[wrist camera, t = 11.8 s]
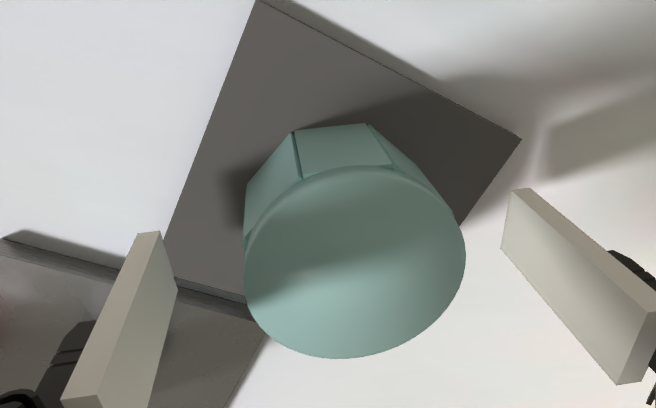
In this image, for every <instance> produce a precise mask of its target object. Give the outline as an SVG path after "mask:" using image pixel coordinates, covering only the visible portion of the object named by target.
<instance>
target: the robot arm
mask: <svg viewBox="0 0 656 408" xmlns="http://www.w3.org/2000/svg"><path fill="white" fill-rule="evenodd" d="M500 249H501V250H502V251H503V252H504V254H505V255H506V256H507V257H508V258H509V259H510V261H511V262H512V263H513V264H514V265H515V267H516V268H517V269H518V270H519V271H520V272H521V274H522V275H523V276H524V277H525V278H526V280H527V281H528V282H529V283H530V284H531V285H532V287H533V288H534V289H535V290H536V291H537V293H538V294H539V295H540V296H541V297H542V298H543V300H544V301H545V302H546V303H547V304H548V305H549V307H550V308H551V309H552V310H553V311H554V313H555V314H556V315H557V316H558V317H559V318H560V320H561V321H562V322H563V323H564V324H565V326H566V327H567V328H568V329H569V330H570V331H571V333H572V334H573V335H574V336H575V337H576V339H577V340H578V341H579V342H580V343H581V344H582V346H583V347H584V348H585V349H586V350H587V352H588V353H589V354H590V355H591V356H592V357H593V359H594V360H595V361H596V362H597V363H598V365H599V366H600V367H601V368H602V369H603V370H604V372H605V373H606V374H607V375H608V376H609V378H610V379H611V380H612V381H613V382H614V383H615V385H622V384H628V383H634V382H640V381H642V379H643V377H644V375H645V373H646V371H647V369H648V366H649V367H650V368H651V369H652V370H653V371H654V372H655V373H656V279H655V277H653V276H652V275H651V274H649V273H648V272H645V271H644V269H643V268H642V267H641V266H639V265H638V264H637V263H636V262H634V261H633V260H632V259H630V258H628V257H626V256H624V255H622V254H620V253H618V252H616V251H614V250H611V251H606V250H605V249H604V248H602V247H601V246H600V245H599V244H597V243H596V242H595V241H594V240H593V239H591V238H590V237H589V236H588V235H587V234H585V233H584V232H583V231H582V230H580V229H579V228H578V227H577V226H576V225H574V224H573V223H572V222H571V221H570V220H568V219H567V218H566V217H565V216H563V215H562V214H561V213H560V212H559V211H557V210H556V209H555V208H554V207H553V206H551V205H550V204H549V203H548V202H546V201H545V200H544V199H543V198H542V197H540V196H539V195H538V194H537V193H536V192H534V191H533V190H532V189H531V188H524V189H516V190H511V193H510V198H509V204H508V209H507V215H506V220H505V226H504V231H503V237H502V242H501V248H500ZM177 292H178V289H177V286H176V282H175V279H174V276H173V272H172V269H171V266H170V262H169V259H168V256H167V253H166V249H165V246H164V243H163V239H162V236H161V233H160V231H154V232H146V233H138V234H137V236H136V238H135V240H134V243H133V245H132V247H131V249H130V251H129V253H128V255H127V258H126V260H125V262H124V264H123V266H122V268H121V270H120V272H119V275H118V277H117V279H116V281H115V283H114V285H113V287H112V290H111V292H110V294H109V296H108V298H107V300H106V302H105V305H104V307H103V309H102V311H101V313H100V315H99V317H98V319H97V320H92V321H85V322H79V323H78V324H77V325H76V326H75V327H74V328H73V329H72V330H71V331H70V332H69V333H68V334H67V335H66V336H65V337H64V338H63V340H62V342H61V344H60V346H59V348H58V350H57V352H56V355H54V357H53V359H52V361H51V363H50V367H49V368H47V370H46V372H45V374H44V376H43V378H42V380H41V381H40V383H39V385H38V387H37V389H36V391H35V392H34V391H33V390H31V389H17V390H13V391H8V392H6V393H4V394H2V395H0V408H147V407H148V403H149V399H150V395H151V391H152V387H153V384H154V380H155V376H156V372H157V368H158V364H159V361H160V357H161V353H162V349H163V345H164V341H165V338H166V334H167V330H168V326H169V322H170V318H171V315H172V311H173V307H174V303H175V299H176V296H177ZM653 400H655V406H656V383H655V385H654V387H653V389H652V391H651V393H650V395H649V397H648V399H647V402H646V404H648V405H651V404H652V402H653Z"/></svg>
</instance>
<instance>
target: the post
mask: <svg viewBox="0 0 656 408" xmlns="http://www.w3.org/2000/svg"><path fill="white" fill-rule="evenodd" d="M119 272H120V271H119V270H116V269H112V268H108V267H105V266H101V265H97V264H94V263H90V262H86V261H83V260H79V259H75V258H71V257H68V256H64V255H60V254H57V253H53V252H49V251H46V250H42V249H38V248H35V247H31V246H27V245H24V244H20V243H16V242H13V241H9V240H5V239H2V238H1V239H0V395H2V394H4V393H6V392H8V391H13V390H17V389H31V390H33V391H34V392H35V391H36V389H37V387H38V385H39V383H40V381H41V380H42V378H43V376H44V374H45V372H46V370H47V368H49V367H50V363H51V361H52V359H53V357H54V355H56V352H57V350H58V348H59V346H60V344H61V342H62V340H63V338H64V337H65V336H66V335H67V334H68V333H69V332H70V331H71V330H72V329H73V328H74V327H75V326H76V325H77V324H78V323H79V322H85V321H92V320H97V319H98V317H99V315H100V313H101V311H102V309H103V307H104V305H105V302H106V300H107V298H108V296H109V294H110V292H111V290H112V287H113V285H114V283H115V281H116V279H117V277H118V275H119ZM177 289H178V292H177V296H176V299H175V303H174V307H173V311H172V315H171V318H170V322H169V326H168V330H167V334H166V338H165V341H164V345H163V349H162V353H161V357H160V361H159V364H158V368H157V372H156V376H155V380H154V384H153V387H152V391H151V395H150V399H149V403H148V407H147V408H223V407H224V405H225V404H226V402H227V400H228V398H229V397H230V395H231V393H232V391H233V389H234V388H235V386H236V384H237V382H238V381H239V379H240V377H241V375H242V374H243V372H244V370H245V368H246V367H247V365H248V363H249V361H250V359H251V358H252V356H253V354H254V352H255V351H256V349H257V347H258V345H259V344H260V342H261V340H262V338H263V337H264V335H265V333H266V332H265V331H264V330H263V329H262V328H261V327H260V326H259V325H258V323H257V322H256V320H255V319H254V318H253V316H252V314H251V312H250V310H249V308H248V305H244V304H241V303H237V302H233V301H230V300H226V299H222V298H219V297H215V296H211V295H208V294H204V293H200V292H197V291H193V290H189V289H186V288H182V287H178V286H177Z"/></svg>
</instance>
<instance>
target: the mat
mask: <svg viewBox="0 0 656 408" xmlns="http://www.w3.org/2000/svg"><path fill="white" fill-rule="evenodd" d="M358 123H366V125H367V126H368V125H369V124H370V125H371V126H372V127H373V128H374V129H376V130H377V131H378V132H379V133H380V134H381V135H382V136H384V137H385V138H386V139H387V140H388V141H389V142H391V143H392V144H393V145H394V146H395V147H396V148H398V149H399V150H400V151H401V152H402V153H403V154H405V155H406V156H407V157H408V158H409V159H410V160H412V161H413V162H414V163H415V164H416V165H417V166H418V168H419V169H420V170H421V171H422V173H423V174H424V175H425V177H426V178H427V179H428V180H429V182H430V183H431V184H432V186H433V187H434V188H435V189H436V191H437V192H438V193H439V194H440V196H441V197H442V198H443V200H444V201H445V202H446V203H447V205H448V206H449V207H450V209H451V210H452V211H453V212H452V213H453V214H454V219H455V220H456V222H457V224H458V226H460V225H461V223H462V222H463V220H464V219H465V218H466V216H467V215H468V214H469V212H470V211H471V209H472V208H473V207H474V205H475V204H476V202H477V201H478V200H479V198H480V197H481V195H482V194H483V193H484V191H485V190H486V189H487V187H488V186H489V184H490V183H491V182H492V180H493V179H494V177H495V176H496V175H497V173H498V172H499V170H500V169H501V168H502V166H503V165H504V164H505V162H506V161H507V159H508V158H509V157H510V155H511V154H512V152H513V151H514V150H515V148H516V147H517V146H518V144H519V143H520V141H521V140H522V139H521V138H519V137H518V136H516V135H515V134H513V133H511V132H509V131H507V130H505V129H503V128H502V127H500V126H498V125H496V124H494V123H492V122H490V121H488V120H486V119H484V118H483V117H481V116H479V115H477V114H475V113H473V112H471V111H469V110H467V109H465V108H464V107H462V106H460V105H458V104H456V103H454V102H452V101H450V100H448V99H446V98H445V97H443V96H441V95H439V94H437V93H435V92H433V91H431V90H429V89H427V88H426V87H424V86H422V85H420V84H418V83H416V82H414V81H412V80H410V79H408V78H407V77H405V76H403V75H401V74H399V73H397V72H395V71H393V70H391V69H389V68H388V67H386V66H384V65H382V64H380V63H378V62H376V61H374V60H372V59H371V58H369V57H367V56H365V55H363V54H361V53H359V52H357V51H355V50H353V49H352V48H350V47H348V46H346V45H344V44H342V43H340V42H338V41H336V40H334V39H333V38H331V37H329V36H327V35H325V34H323V33H321V32H319V31H317V30H315V29H314V28H312V27H310V26H308V25H306V24H304V23H302V22H300V21H298V20H296V19H295V18H293V17H291V16H289V15H287V14H285V13H283V12H281V11H279V10H277V9H276V8H274V7H272V6H270V5H268V4H266V3H264V2H262V1H260V0H256V1H255V3H254V6H253V8H252V11H251V14H250V16H249V19H248V21H247V24H246V27H245V29H244V32H243V34H242V37H241V40H240V42H239V45H238V47H237V50H236V53H235V55H234V58H233V60H232V63H231V66H230V68H229V71H228V73H227V76H226V79H225V81H224V84H223V86H222V89H221V92H220V94H219V97H218V99H217V102H216V105H215V107H214V110H213V112H212V115H211V118H210V120H209V123H208V125H207V128H206V131H205V133H204V136H203V138H202V141H201V144H200V146H199V149H198V151H197V154H196V157H195V159H194V162H193V164H192V167H191V170H190V172H189V175H188V177H187V180H186V183H185V185H184V188H183V190H182V193H181V196H180V198H179V201H178V203H177V206H176V209H175V211H174V214H173V216H172V219H171V222H170V224H169V227H168V229H167V232H166V235H165V237H164V240H163V243H164V246H165V249H166V253H167V256H168V259H169V262H170V266H171V269H172V272H173V276H174V277H178V278H181V279H185V280H188V281H192V282H196V283H199V284H203V285H206V286H210V287H214V288H217V289H221V290H224V291H228V292H231V293H235V294H239V295H242V296H245V294H244V286H243V281H244V262H245V255H244V250H243V245H242V237H243V223H244V210H245V196H246V187H247V183H248V182H249V181H250V180H251V179H252V177H253V176H254V175H255V174H256V173H257V171H258V170H259V169H260V168H261V167H262V165H263V164H264V163H265V162H266V161H267V160H268V158H269V157H270V156H271V155H272V154H273V152H274V151H275V150H276V149H277V148H278V146H279V145H280V144H281V143H282V142H283V141H284V139H285V138H286V137H287V136H288V135H289V133H290V132H291V133H292V134H293V135H294V136H295V133H294V130H302V129H312V128H321V127H330V126H340V125H349V124H358Z"/></svg>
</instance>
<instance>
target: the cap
mask: <svg viewBox="0 0 656 408" xmlns="http://www.w3.org/2000/svg"><path fill="white" fill-rule="evenodd" d="M294 133H295V136H294V135H293V134H292V133H291V132H290V133H289V135H288V136H287V137H286V138H285V139H284V141H283V142H282V143H281V144H280V145H279V146H278V148H277V149H276V150H275V151H274V152H273V154H272V155H271V156H270V157H269V158H268V160H267V161H266V162H265V163H264V164H263V165H262V167H261V168H260V169H259V170H258V171H257V173H256V174H255V175H254V176H253V177H252V179H251V180H250V181H249V182H248V183H247V187H246V196H245V210H244V223H243V237H242V245H243V250H244V255H245V262H244V281H243V286H244V294H245V298H246V302H247V305H248V308H249V310H250V312H251V314H252V316H253V318H254V319H255V320H256V322H257V323H258V325H259V326H260V327H261V328H262V329H263V330H264V331H265V332H266V333H267V334H268V335H269V336H270V337H272V338H273V339H274V340H275V341H277V342H278V343H280V344H282V345H284V346H285V347H287V348H289V349H292V350H294V351H297V352H299V353H303V354H306V355H309V356H315V357H320V358H330V359H349V358H358V357H364V356H369V355H374V354H377V353H381V352H384V351H387V350H389V349H392V348H394V347H397V346H399V345H401V344H403V343H405V342H407V341H409V340H411V339H412V338H414V337H415V336H417V335H419V334H420V333H421V332H423V331H424V330H425V329H427V328H428V327H429V326H430V325H431V324H433V323H434V322H435V321H436V320H437V319H438V318H439V317H440V316H441V315H442V313H443V312H444V311H445V310H446V309H447V307H448V306H449V304H450V303H451V301H452V300H453V299H454V297H455V295H456V293H457V291H458V289H459V287H460V284H461V281H462V278H463V274H464V269H465V261H466V251H465V243H464V239H463V236H462V232H461V230H460V228H459V226H458V224H457V222H456V220H455V219H454V214H453V213H452V212H453V211H452V210H451V209H450V207H449V206H448V205H447V203H446V202H445V201H444V200H443V198H442V197H441V196H440V194H439V193H438V192H437V191H436V189H435V188H434V187H433V186H432V184H431V183H430V182H429V180H428V179H427V178H426V177H425V175H424V174H423V173H422V171H421V170H420V169H419V168H418V166H417V165H416V164H415V163H414V162H413V161H412V160H410V159H409V158H408V157H407V156H406V155H405V154H403V153H402V152H401V151H400V150H399V149H398V148H396V147H395V146H394V145H393V144H392V143H391V142H389V141H388V140H387V139H386V138H385V137H384V136H382V135H381V134H380V133H379V132H378V131H377V130H376V129H374V128H373V127H372V126H371V125H370V124H369V125H368V126H367V125H366V123H358V124H349V125H340V126H330V127H321V128H312V129H302V130H294Z"/></svg>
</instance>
